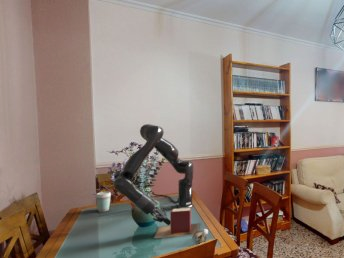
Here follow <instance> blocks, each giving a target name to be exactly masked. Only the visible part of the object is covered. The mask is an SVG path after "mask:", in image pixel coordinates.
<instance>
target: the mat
mask: <svg viewBox="0 0 344 258" xmlns="http://www.w3.org/2000/svg"><path fill="white" fill-rule="evenodd" d="M199 226H200V223H191V229H190V232H180V233H170V225H167V226H159V227H158V229H157V230H156V232H155V234H154V237H153V239H159V238H160V239H161V238H170V237H179V236H180V237H181V236H182V237H183V236H191V235H193V234H194V233H195V232H196V229H197V230H199Z"/></svg>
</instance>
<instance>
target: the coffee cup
mask: <svg viewBox="0 0 344 258" xmlns="http://www.w3.org/2000/svg"><path fill="white" fill-rule="evenodd" d="M111 196H112V193H111V191H99V192H98V193H96V195H95V199H96V205H97V211H98V213H105V212H108V211H109V210H110V205H111Z"/></svg>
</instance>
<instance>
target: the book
mask: <svg viewBox="0 0 344 258" xmlns="http://www.w3.org/2000/svg"><path fill="white" fill-rule="evenodd" d="M169 214H170V219H169V220H170V225H169V226H170V233H180V232H190V229H191V224H192V207H190V208H179V207H178V208H172V209H171V210H170V213H169Z"/></svg>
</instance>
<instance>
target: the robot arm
mask: <svg viewBox="0 0 344 258" xmlns="http://www.w3.org/2000/svg"><path fill="white" fill-rule="evenodd" d="M139 134H140V136H141V138H142V139H143V140H145V141H146V142H145V143H144V144H143V145H142V146H141V147H140V148H139V149H138V150H136V151H135V152H133V153H132V154H131V155H130V157H129V158H128V159H127V161H126V162H125V164H124V166H123V168H122V171H121V172H120V173H119V175H118V177H117V178H115V180H113V184H112V185H113V188H114V189H115V190H116V191H117V192H119V193H120V194H122V195H123V196H124V197H126V198H127V199H128V200H129V201H130V202H131V203H132V204H134V205H135V207H136V208H138V209H139V210H140V211H141V212H143V214H145V215H149V214H150V215H151V216H152V217H153V218H152V220H153V221H156V222H157V223H164V224H166V225H167V226H170V219H169V218H168V214H167V213H166V211H165V210H164V208H163V207H161V208H160V207H158V204H159V203H158V202H157V201H155V199H153V198H152V197H151V196H150V195H149V194H147V193H145V192H144V191H143V190H141V189H140V188H139V187H137V186H136V185H135V184H134V183H133V182H132V181H133V179H134V177H135V175H136V174H137V173H138V171H139V169H140V168H141V166H142V165H143V163H144V161H145V160H146V158H147V157H148V156H149V155H150V153H151V152H152V151H153V150H154V149H155V150H156V151H157V152H158V153H159V154H160V155H161V156H162V157H163V158H164V159H165V160H166V161H167V162H168V163H169V164H170V165H171V166H172V168H173V169H174V170H175V172H176V173H178V174H182V175H184V177H181V178H179V179H178V184H177V185H178V186H177V187H178V198H177V200H176V201H175V200H174V199H173V198H172V197H171V196H169V195H165V194H157V193H156V194H155V192H154V191H152V192H151V194H152V195H153V196H156V197H163V198H169V200H170V201H171V202H173V203H174V204H178V206H177V207H178V209H179V208H192V207H193V179H194V168H195V167H194V163H193V161H191V160H182V159H180V158H179V155H180V154H179V153H180V152H179V150H178V149H177V147H176V146H175V145H174V144H173V143H172V142H170V141H169V140H167V139H165V138H164V137H163V136H164V134H165V133H164V129H163V127H161V126H160V125H159V126H158V125H156V124H150V123H146V124H143V125H142V126H141V127H140V129H139Z"/></svg>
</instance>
